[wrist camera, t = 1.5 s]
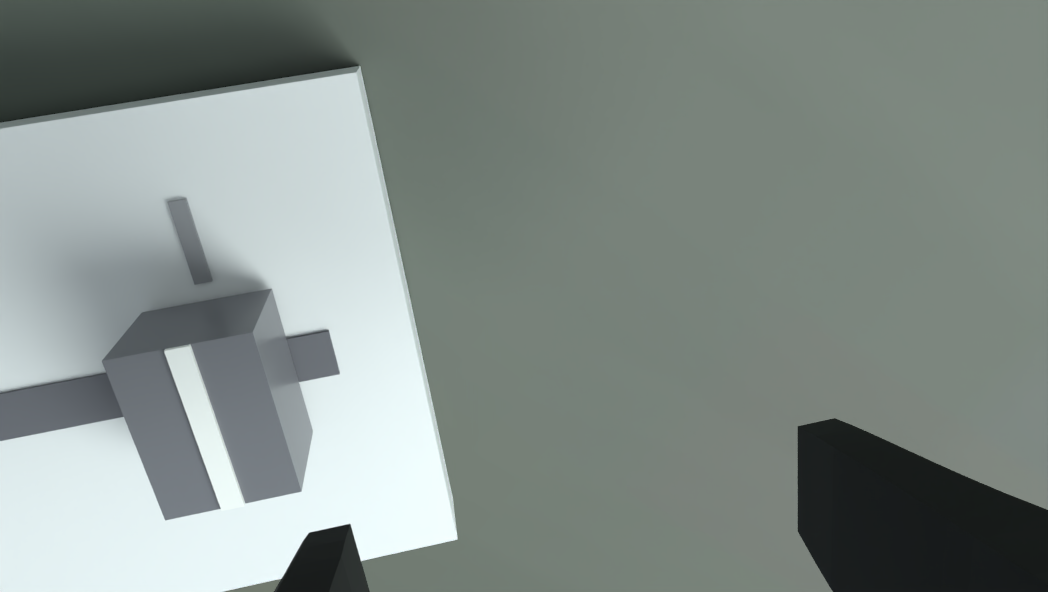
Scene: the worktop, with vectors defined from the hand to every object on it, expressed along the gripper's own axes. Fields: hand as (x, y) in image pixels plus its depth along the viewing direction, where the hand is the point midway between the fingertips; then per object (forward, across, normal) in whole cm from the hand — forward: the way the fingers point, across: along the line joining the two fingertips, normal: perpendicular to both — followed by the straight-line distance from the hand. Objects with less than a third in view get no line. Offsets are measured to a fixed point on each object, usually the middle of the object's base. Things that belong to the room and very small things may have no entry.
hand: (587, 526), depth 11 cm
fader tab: (+8, +7, 0) cm, 11 cm away
